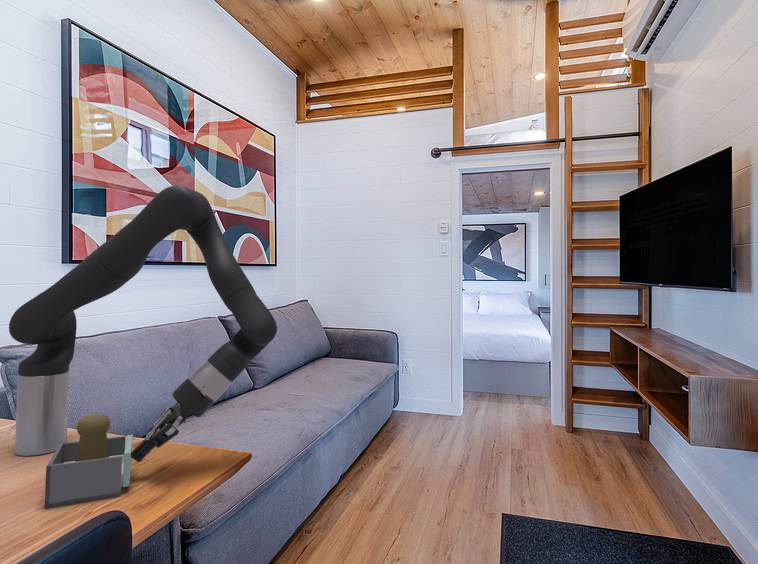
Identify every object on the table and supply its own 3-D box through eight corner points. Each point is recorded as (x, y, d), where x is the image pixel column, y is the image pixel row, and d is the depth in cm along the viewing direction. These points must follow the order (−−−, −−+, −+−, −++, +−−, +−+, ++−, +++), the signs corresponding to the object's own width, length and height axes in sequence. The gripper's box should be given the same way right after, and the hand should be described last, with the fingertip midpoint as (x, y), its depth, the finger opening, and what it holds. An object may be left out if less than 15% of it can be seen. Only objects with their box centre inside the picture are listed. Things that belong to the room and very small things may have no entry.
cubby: (124, 470, 88) (125, 435, 88) (120, 496, 77) (121, 456, 77) (58, 480, 83) (59, 443, 83) (44, 509, 72) (46, 466, 72)
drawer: (131, 464, 88) (132, 434, 88) (129, 485, 78) (130, 452, 79) (63, 473, 83) (65, 442, 83) (52, 498, 73) (53, 462, 73)
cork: (96, 483, 78) (98, 421, 78) (63, 481, 78) (66, 420, 78) (117, 469, 84) (120, 412, 84) (87, 467, 84) (89, 410, 84)
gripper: (186, 371, 94) (120, 436, 88) (192, 382, 83) (116, 459, 77) (212, 392, 97) (149, 457, 91) (221, 407, 85) (150, 482, 79)
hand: (134, 458), depth 84 cm, fingers closed
